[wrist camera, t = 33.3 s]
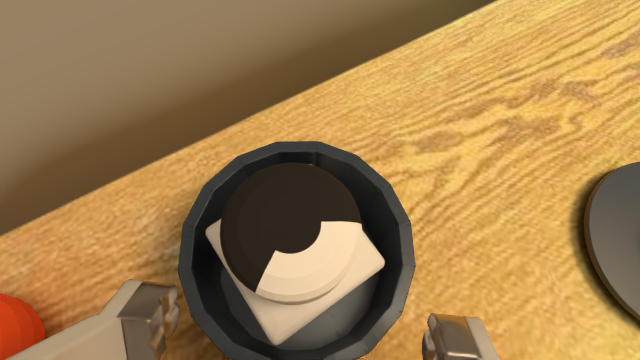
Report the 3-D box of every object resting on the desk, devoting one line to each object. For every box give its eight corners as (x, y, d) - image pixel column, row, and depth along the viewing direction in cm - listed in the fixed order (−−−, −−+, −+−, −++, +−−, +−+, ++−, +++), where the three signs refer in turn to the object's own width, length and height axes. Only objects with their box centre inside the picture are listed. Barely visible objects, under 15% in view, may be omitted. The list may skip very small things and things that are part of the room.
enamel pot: (300, 405, 24) (298, 440, 17) (176, 267, 27) (130, 248, 20) (420, 263, 27) (460, 243, 20) (299, 154, 30) (297, 103, 23)
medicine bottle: (227, 252, 27) (169, 201, 15) (310, 198, 28) (312, 116, 17) (282, 341, 25) (262, 357, 13) (368, 277, 26) (413, 245, 15)
